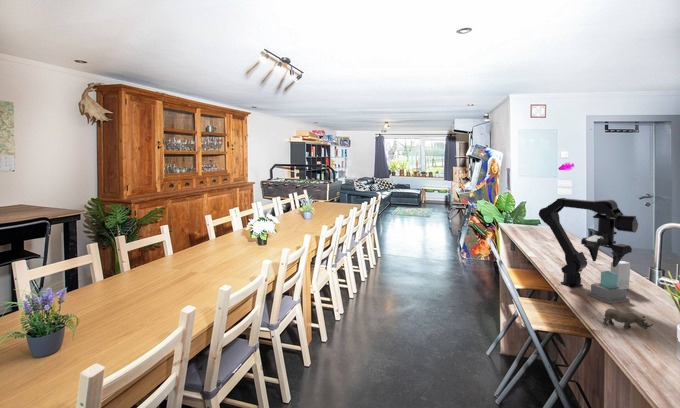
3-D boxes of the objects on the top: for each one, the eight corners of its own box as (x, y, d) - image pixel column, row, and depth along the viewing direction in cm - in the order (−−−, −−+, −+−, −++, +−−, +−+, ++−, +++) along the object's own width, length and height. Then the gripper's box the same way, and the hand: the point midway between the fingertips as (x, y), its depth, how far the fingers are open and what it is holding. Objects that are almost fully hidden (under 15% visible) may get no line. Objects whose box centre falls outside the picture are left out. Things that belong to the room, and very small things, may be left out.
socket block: (587, 294, 157) (588, 283, 156) (605, 292, 159) (606, 281, 158) (610, 303, 147) (610, 291, 146) (628, 300, 149) (629, 288, 149)
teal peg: (599, 294, 154) (601, 271, 153) (607, 293, 155) (608, 270, 154) (608, 297, 151) (610, 274, 149) (616, 296, 151) (617, 273, 150)
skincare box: (620, 285, 166) (622, 260, 164) (629, 289, 161) (631, 263, 160) (608, 286, 165) (610, 261, 164) (617, 290, 161) (618, 263, 159)
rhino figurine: (653, 335, 121) (654, 318, 120) (602, 325, 129) (603, 309, 128) (652, 330, 124) (653, 314, 123) (603, 320, 132) (603, 305, 132)
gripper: (572, 226, 162) (570, 260, 164) (612, 234, 144) (610, 272, 146) (591, 224, 165) (590, 257, 167) (633, 232, 147) (631, 269, 149)
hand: (604, 264), depth 157 cm, fingers open, 9 cm apart
